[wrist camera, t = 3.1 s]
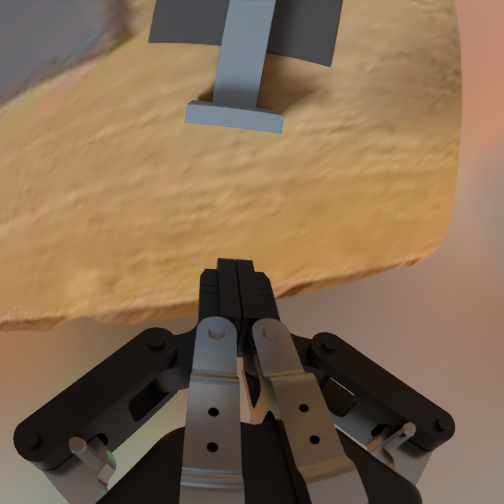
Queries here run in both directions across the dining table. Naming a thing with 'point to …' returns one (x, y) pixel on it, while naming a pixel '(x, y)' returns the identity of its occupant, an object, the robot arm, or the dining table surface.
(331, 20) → the mat
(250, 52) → the sled frame
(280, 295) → the dining table surface
